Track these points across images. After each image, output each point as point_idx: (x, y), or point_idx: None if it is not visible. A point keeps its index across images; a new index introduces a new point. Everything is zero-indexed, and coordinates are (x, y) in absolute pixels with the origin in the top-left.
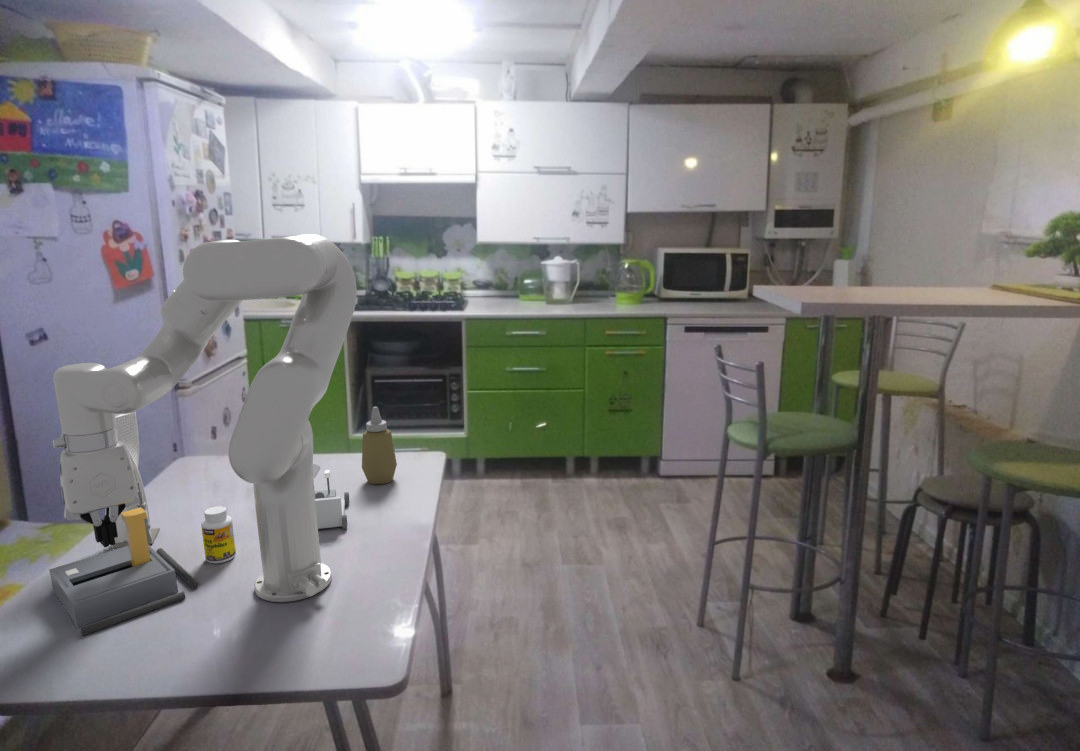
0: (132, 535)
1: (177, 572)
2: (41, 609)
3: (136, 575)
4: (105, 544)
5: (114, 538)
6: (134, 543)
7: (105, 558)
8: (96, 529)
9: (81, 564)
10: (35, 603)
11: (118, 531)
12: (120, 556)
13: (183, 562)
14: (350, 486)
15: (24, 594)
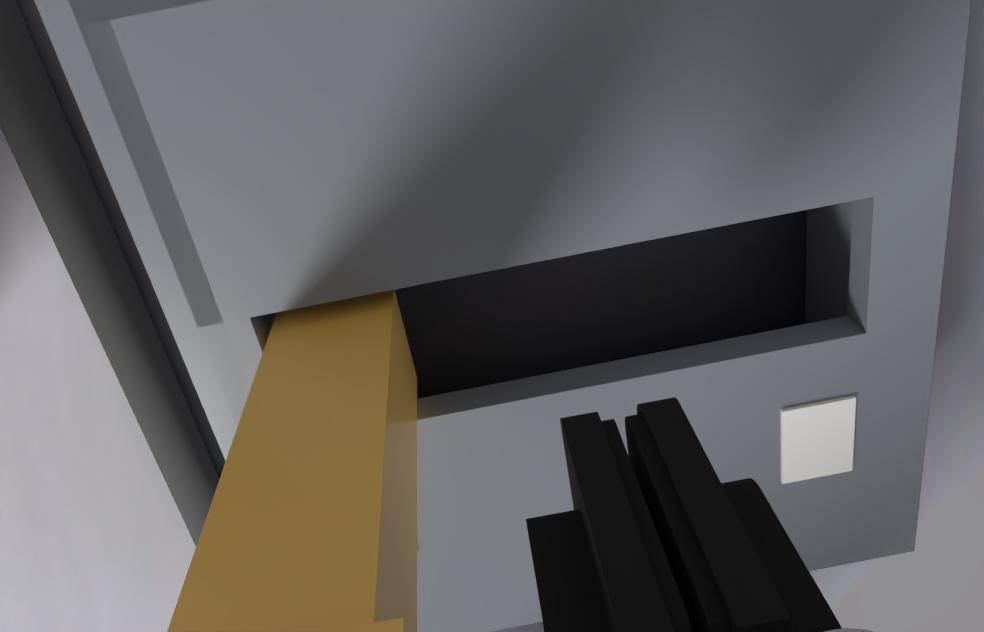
0: (361, 497)
1: (116, 248)
2: (949, 258)
3: (395, 80)
4: (674, 412)
5: (574, 459)
6: (360, 434)
7: None
8: (826, 607)
9: None
10: (949, 353)
11: None
12: (485, 514)
13: (99, 420)
14: None
15: (956, 485)
